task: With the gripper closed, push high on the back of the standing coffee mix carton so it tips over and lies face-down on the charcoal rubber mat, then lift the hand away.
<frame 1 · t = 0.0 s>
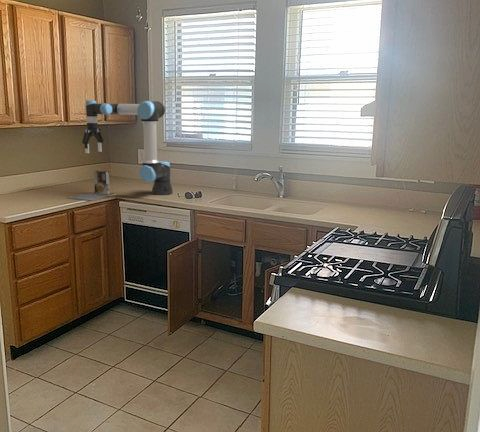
hand: (93, 152, 344), 28 cm above the worktop, tool pointing down, fingers open, 13 cm apart
coffee box: (102, 194, 338), on the worktop
mat: (88, 197, 324), on the worktop
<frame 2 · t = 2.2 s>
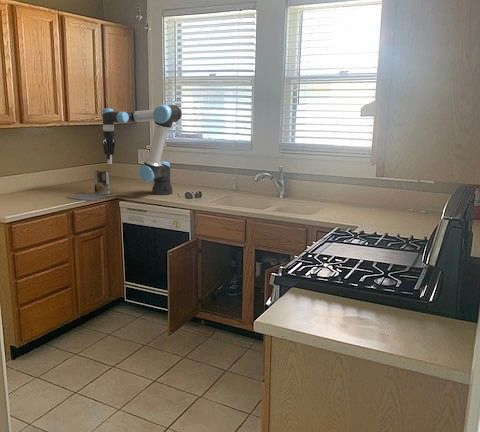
hand: (109, 163, 342), 20 cm above the worktop, tool pointing down, fingers closed
nothing on the worktop moved.
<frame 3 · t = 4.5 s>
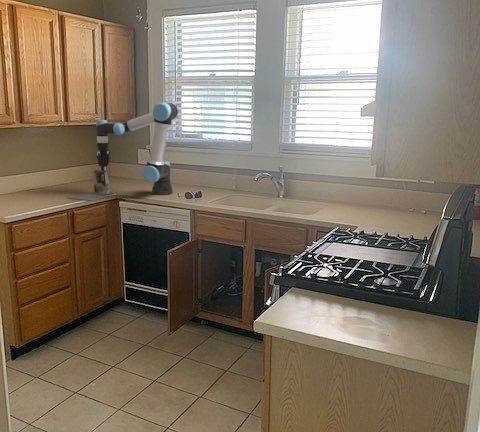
hand: (104, 175, 338), 13 cm above the worktop, tool pointing down, fingers closed
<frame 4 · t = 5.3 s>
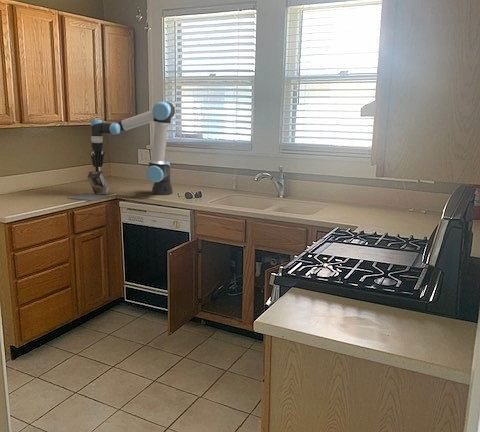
hand: (98, 176, 332), 13 cm above the worktop, tool pointing down, fingers closed
coffee box: (102, 191, 337), point 2 cm above the worktop, touching gripper
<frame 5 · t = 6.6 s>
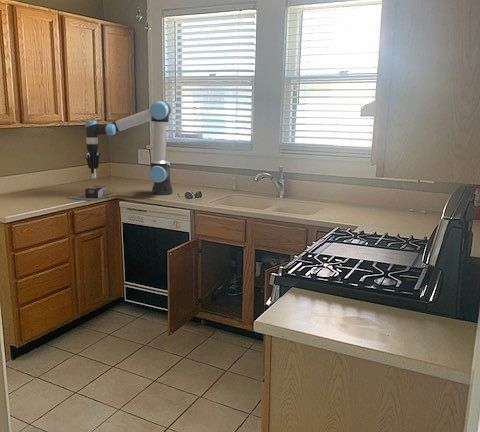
hand: (94, 177, 328), 12 cm above the worktop, tool pointing down, fingers closed
coffee box: (100, 189, 334), point 4 cm above the worktop, touching mat
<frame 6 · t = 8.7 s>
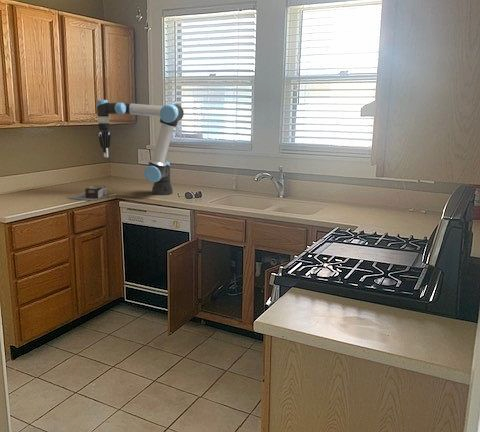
hand: (106, 157, 331), 26 cm above the worktop, tool pointing down, fingers closed
nothing on the worktop moved.
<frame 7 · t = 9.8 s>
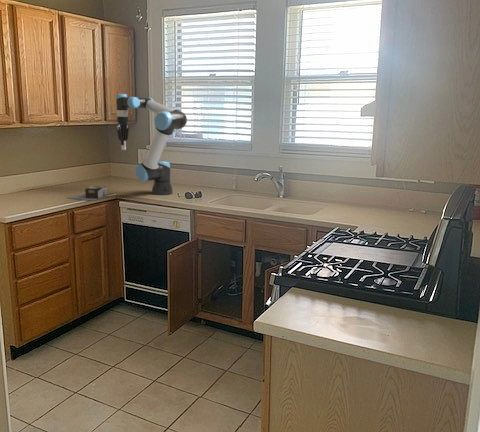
hand: (123, 149, 342), 30 cm above the worktop, tool pointing down, fingers closed
nothing on the worktop moved.
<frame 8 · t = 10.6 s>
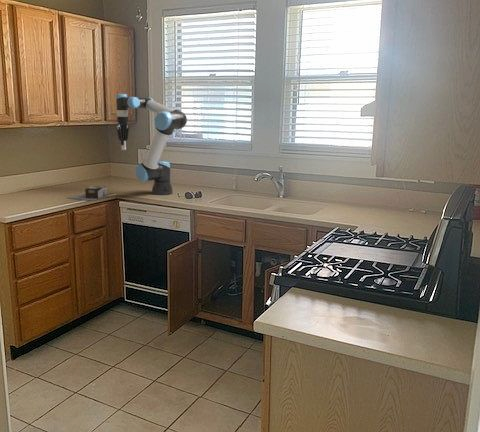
hand: (123, 149, 342), 30 cm above the worktop, tool pointing down, fingers closed
nothing on the worktop moved.
at the end: coffee box tilted 90°; coffee box inside the target area (6.9 cm from its centre), point 3.7 cm above the worktop; coffee box touching mat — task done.
